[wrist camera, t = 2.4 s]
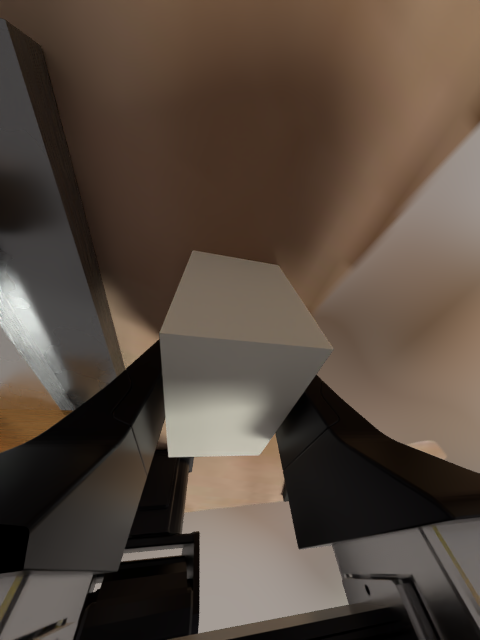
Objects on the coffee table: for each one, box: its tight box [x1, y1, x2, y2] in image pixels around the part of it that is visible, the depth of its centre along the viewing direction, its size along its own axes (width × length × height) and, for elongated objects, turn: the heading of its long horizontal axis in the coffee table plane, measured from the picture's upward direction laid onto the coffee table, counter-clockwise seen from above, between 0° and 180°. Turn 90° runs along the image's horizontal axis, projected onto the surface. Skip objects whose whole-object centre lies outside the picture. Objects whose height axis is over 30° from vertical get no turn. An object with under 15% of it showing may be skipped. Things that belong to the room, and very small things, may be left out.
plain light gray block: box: [159, 250, 334, 457], centre depth 8 cm, size 7×4×6 cm, turn 169°
